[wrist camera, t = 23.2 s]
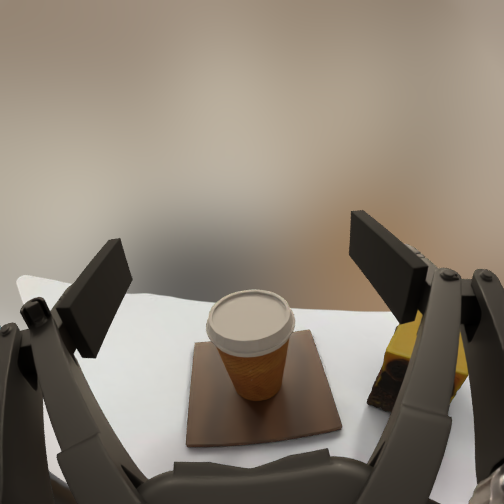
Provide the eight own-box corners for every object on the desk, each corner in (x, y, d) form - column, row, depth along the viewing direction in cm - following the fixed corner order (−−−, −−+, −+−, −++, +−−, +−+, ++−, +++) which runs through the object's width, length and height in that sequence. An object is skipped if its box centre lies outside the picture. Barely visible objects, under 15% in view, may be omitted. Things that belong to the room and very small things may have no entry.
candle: (364, 404, 30) (382, 352, 26) (389, 353, 37) (404, 299, 33) (435, 427, 24) (469, 377, 20) (449, 371, 31) (474, 318, 27)
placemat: (187, 447, 27) (185, 444, 27) (195, 346, 43) (194, 342, 43) (341, 429, 28) (342, 426, 27) (309, 332, 44) (309, 329, 43)
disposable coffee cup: (216, 409, 31) (194, 343, 26) (227, 356, 40) (214, 287, 35) (294, 411, 30) (296, 343, 25) (294, 356, 39) (293, 285, 33)
